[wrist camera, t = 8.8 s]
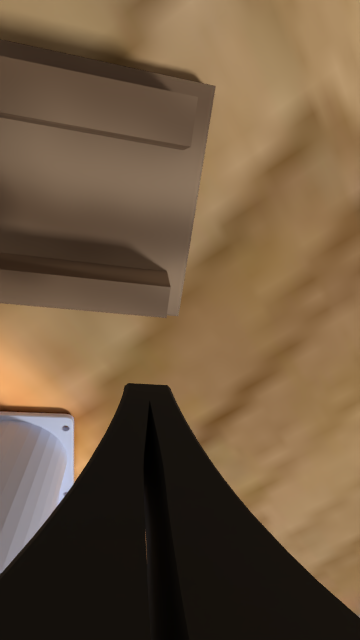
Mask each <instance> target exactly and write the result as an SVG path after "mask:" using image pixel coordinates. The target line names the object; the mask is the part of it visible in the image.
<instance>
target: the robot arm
mask: <svg viewBox="0 0 360 640" xmlns="http://www.w3.org/2000/svg"><path fill="white" fill-rule="evenodd" d="M65 426H68V427H65ZM145 531H146V536H145ZM146 549H147V558H146ZM0 640H360V618H359V617H358V616H357V615H356V614H355V613H353V612H352V611H351V610H350V609H349V608H348V607H347V606H346V605H344V604H343V603H342V602H341V601H340V600H339V599H338V598H336V597H335V596H334V595H333V594H332V593H331V592H330V591H329V590H327V589H326V588H325V587H324V586H323V585H322V584H321V583H319V582H318V581H317V580H316V579H315V578H314V577H313V576H312V575H311V574H310V573H309V572H308V571H307V570H306V569H305V568H304V567H303V566H302V565H301V564H300V563H299V562H298V561H297V560H296V559H295V558H294V557H293V556H292V555H291V554H289V553H288V552H287V550H286V549H285V548H284V547H283V546H282V545H281V544H280V543H279V542H278V541H277V540H276V539H275V538H274V537H273V536H272V534H271V533H270V532H269V531H268V530H267V529H266V528H265V527H264V526H263V525H262V524H261V523H260V522H259V521H258V520H257V518H256V517H255V516H254V515H253V514H252V513H251V512H250V511H249V509H248V508H247V507H246V506H245V505H244V503H243V502H242V501H241V500H240V499H239V497H238V496H237V495H236V494H235V493H234V491H233V490H232V489H231V487H230V486H229V485H228V484H227V482H226V481H225V480H224V478H223V477H222V476H221V474H220V473H219V472H218V470H217V469H216V468H215V466H214V465H213V463H212V462H211V460H210V459H209V457H208V456H207V454H206V453H205V451H204V450H203V448H202V447H201V445H200V444H199V442H198V441H197V439H196V437H195V435H194V434H193V432H192V430H191V429H190V427H189V425H188V424H187V422H186V420H185V418H184V416H183V414H182V413H181V411H180V409H179V407H178V405H177V403H176V401H175V398H174V396H173V394H172V392H171V389H170V388H169V387H168V385H152V384H133V383H128V384H127V385H125V387H124V392H123V395H122V398H121V401H120V404H119V406H118V408H117V411H116V413H115V415H114V417H113V419H112V421H111V423H110V425H109V427H108V429H107V431H106V433H105V435H104V437H103V438H102V440H101V442H100V443H99V445H98V447H97V448H96V450H95V452H94V453H93V455H92V457H91V459H90V460H89V462H88V463H87V465H86V466H85V468H84V469H83V471H82V472H81V474H80V475H79V477H78V478H77V480H76V481H75V483H74V418H73V416H71V415H70V414H56V413H29V412H1V411H0Z"/></svg>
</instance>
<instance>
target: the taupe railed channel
mask: <svg viewBox="0 0 360 640" xmlns="http://www.w3.org/2000/svg"><path fill="white" fill-rule="evenodd" d="M214 93H215V86H213V85H208V84H204V83H199V82H195V81H190V80H185V79H181V78H176V77H172V76H167V75H162V74H158V73H153V72H148V71H144V70H139V69H135V68H130V67H125V66H121V65H116V64H112V63H107V62H102V61H98V60H93V59H89V58H84V57H79V56H75V55H70V54H66V53H61V52H56V51H52V50H47V49H42V48H38V47H33V46H29V45H24V44H19V43H15V42H10V41H6V40H1V39H0V303H5V304H16V305H27V306H38V307H50V308H61V309H72V310H83V311H95V312H106V313H117V314H128V315H140V316H151V317H162V318H166V317H167V315H172V316H178V315H179V309H180V303H181V296H182V290H183V284H184V278H185V272H186V266H187V259H188V253H189V247H190V241H191V235H192V229H193V222H194V216H195V210H196V204H197V198H198V191H199V185H200V179H201V173H202V167H203V161H204V154H205V148H206V142H207V136H208V130H209V123H210V117H211V111H212V105H213V99H214Z"/></svg>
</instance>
